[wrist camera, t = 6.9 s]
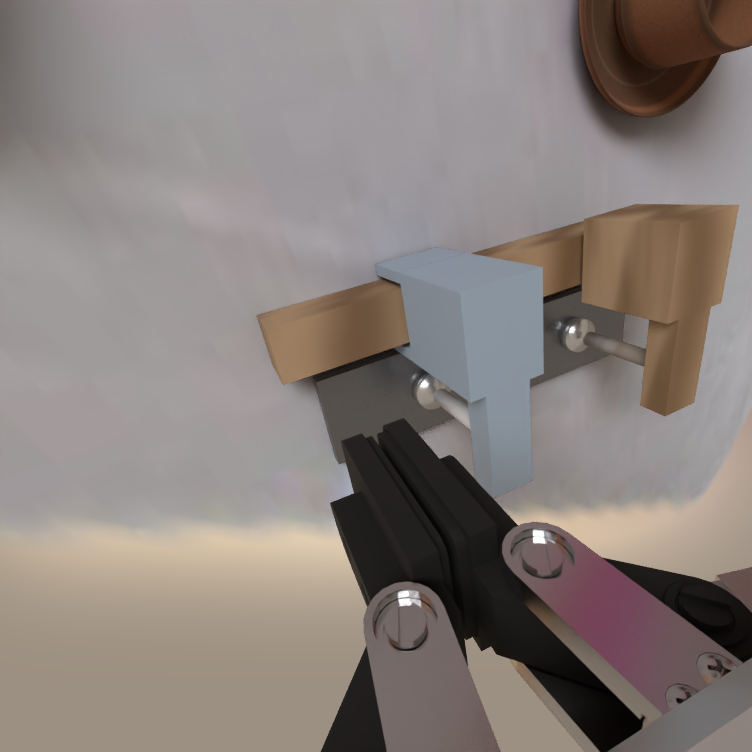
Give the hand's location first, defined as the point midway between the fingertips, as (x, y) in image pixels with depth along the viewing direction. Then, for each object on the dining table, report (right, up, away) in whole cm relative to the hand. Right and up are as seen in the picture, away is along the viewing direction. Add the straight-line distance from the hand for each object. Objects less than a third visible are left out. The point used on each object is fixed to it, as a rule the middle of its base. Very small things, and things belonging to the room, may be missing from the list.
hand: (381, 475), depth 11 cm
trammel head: (+3, +5, +16) cm, 17 cm away
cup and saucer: (+15, +24, +14) cm, 32 cm away
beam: (+5, +6, +17) cm, 19 cm away
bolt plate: (+8, +4, +19) cm, 21 cm away
